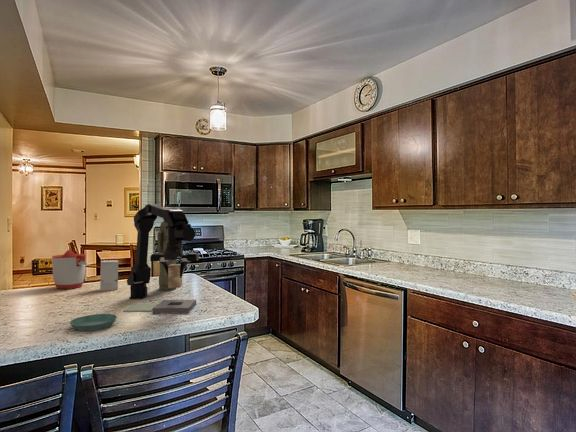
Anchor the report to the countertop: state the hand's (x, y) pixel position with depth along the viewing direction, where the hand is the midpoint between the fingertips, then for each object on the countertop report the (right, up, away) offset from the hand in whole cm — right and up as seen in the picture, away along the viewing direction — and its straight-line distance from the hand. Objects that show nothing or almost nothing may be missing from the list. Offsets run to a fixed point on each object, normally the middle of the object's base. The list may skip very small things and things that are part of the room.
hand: (175, 277), depth 155 cm
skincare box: (-46, -13, +39) cm, 62 cm away
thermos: (-16, -13, +40) cm, 45 cm away
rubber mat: (-14, -13, +1) cm, 19 cm away
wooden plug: (0, -4, 0) cm, 4 cm away
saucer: (-22, -14, -23) cm, 34 cm away
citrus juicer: (-69, -13, +45) cm, 83 cm away
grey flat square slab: (0, -13, 0) cm, 13 cm away
